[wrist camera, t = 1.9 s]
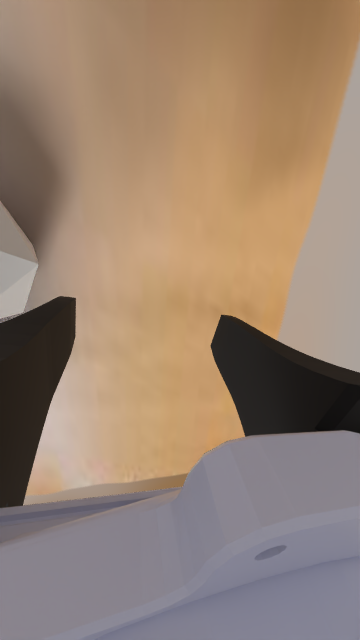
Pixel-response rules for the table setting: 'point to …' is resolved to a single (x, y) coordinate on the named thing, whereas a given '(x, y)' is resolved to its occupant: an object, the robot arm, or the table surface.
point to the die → (14, 266)
